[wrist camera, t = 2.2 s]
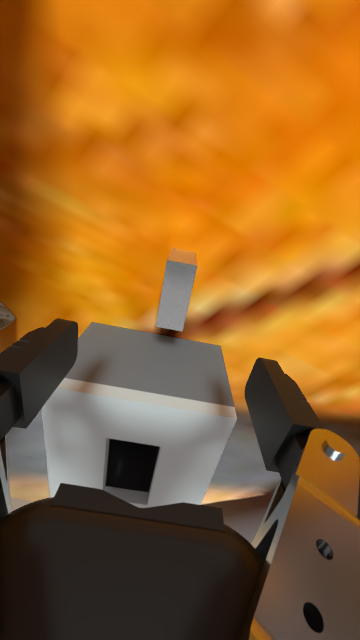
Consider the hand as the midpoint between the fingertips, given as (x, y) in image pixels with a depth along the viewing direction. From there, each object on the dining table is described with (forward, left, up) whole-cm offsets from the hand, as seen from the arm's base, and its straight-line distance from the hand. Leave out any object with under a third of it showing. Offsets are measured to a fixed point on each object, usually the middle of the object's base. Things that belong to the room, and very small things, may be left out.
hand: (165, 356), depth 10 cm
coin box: (+14, -1, -12) cm, 18 cm away
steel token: (0, 0, -12) cm, 12 cm away
